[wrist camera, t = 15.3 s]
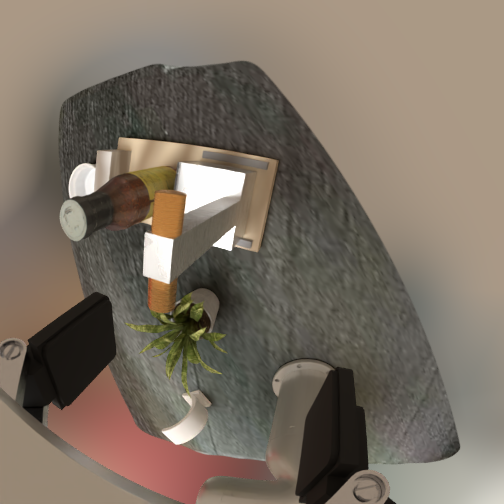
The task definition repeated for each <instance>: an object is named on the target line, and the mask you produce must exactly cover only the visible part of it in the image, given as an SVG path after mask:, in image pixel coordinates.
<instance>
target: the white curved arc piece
mask: <svg viewBox="0 0 504 504" xmlns="http://www.w3.org/2000/svg"><path fill="white" fill-rule="evenodd" d="M189 393H190V396H191V398H190V396H189V395H188V394H187V393H183V395H182V396H183V398H184V399H185V400H186V401H187V402H188V403H189V404H190V405H191V409H190V411H189V412H188V414H187V415H186V416H185V417H184V418H183V419H182V420H181V421H180V422H178V423H177V424H175V425H173V426H171V427H169V428H164V429H163V430H162V432H163V433H164V434H165V435H166V436H167V437H168V438H169V439H170V440H171V441H172V442H173V443H175V444H182V443H185V442H187V441H189V440H191V439H192V438H194V437H195V436H196V435H197V434H198V433H199V432H200V431H201V430H202V429H203V428H204V426H205V424H206V422H207V420H208V411H207V409H206V408H205V407H208V406H211V404H212V403H211V402H210V401H209V400H208V399H207V398H206V397H205V396H204V395H203V393H202V392H201V391H200V390H198V391H193V392H189Z"/></svg>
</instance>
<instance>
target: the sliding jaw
mask: <svg viewBox="0 0 504 504" xmlns="http://www.w3.org/2000/svg"><path fill="white" fill-rule="evenodd" d="M256 174H257V171H252V170H247V169H242V168H237V167H232V166H227V165H221V164H216V163H210V162H204V161H183V162H178V163H177V170H176V177H175V184H174V190H156V191H155V195H154V204H153V215H152V226H151V230H149V231H147V232H145V244H144V265H143V276H146V277H148V307H149V308H150V309H151V310H153V311H155V312H158V313H167V312H171V311H172V310H174V308H175V303H176V290H177V278H178V276H179V275H180V274H181V273H182V272H184V271H185V270H186V269H187V268H188V267H189V266H190V265H191V264H193V263H194V262H195V261H196V260H197V259H198V258H199V257H200V256H202V255H203V254H204V253H205V252H206V251H207V250H208V249H209V248H211V247H212V246H216V247H220V248H224V249H228V250H232V249H233V248H234V246H235V245H236V244H237V243H238V242H239V241H240V240H241V239H242V238H243V236H244V235H245V230H246V225H247V219H248V214H249V209H250V204H251V199H252V194H253V189H254V184H255V179H256Z"/></svg>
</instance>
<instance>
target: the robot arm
mask: <svg viewBox="0 0 504 504" xmlns="http://www.w3.org/2000/svg"><path fill="white" fill-rule="evenodd" d="M28 342H29V345H28V346H26V344H25V343H24V342H23V340H21V339H18V338H9V339H6V340H4V341H2V342H1V343H0V504H184V503H181V502H178V501H176V500H173V499H171V498H168V497H166V496H163V495H161V494H158V493H156V492H154V491H152V490H149V489H147V488H145V487H143V486H141V485H139V484H136V483H134V482H132V481H130V480H128V479H126V478H124V477H123V476H121V475H119V474H117V473H115V472H113V471H111V470H110V469H108V468H106V467H104V466H103V465H101V464H99V463H98V462H96V461H94V460H92V459H91V458H89V457H88V456H86V455H85V454H83V453H82V452H80V451H79V450H77V449H76V448H74V447H73V446H71V445H70V444H68V443H67V442H65V441H64V440H63V439H61V438H60V437H58V436H57V435H56V434H54V433H53V432H52V431H51V430H49V429H48V428H47V422H48V421H47V420H48V407H49V404H50V403H51V402H52V403H53V404H54V405H56V406H57V407H58V408H60V409H61V410H62V409H63V408H64V407H65V406H69V405H70V404H71V403H72V402H73V401H74V400H75V399H76V398H77V397H78V396H79V395H80V394H81V392H83V390H84V389H85V388H86V387H87V386H88V385H89V384H90V383H91V382H92V381H93V380H94V379H95V378H96V377H97V375H98V374H99V373H100V372H101V371H102V370H103V369H104V368H105V367H106V366H107V365H108V364H109V363H110V362H111V361H112V360H113V359H114V357H115V355H116V344H115V335H114V325H113V315H112V304H111V302H110V301H109V298H108V297H107V296H105V295H103V294H101V293H98V292H94V293H93V294H91V295H90V296H88V297H87V298H85V299H84V300H83V301H81V302H80V303H78V304H77V305H75V306H74V307H72V308H71V309H70V310H68V311H67V312H65V313H64V314H63V315H61V316H60V317H58V318H57V319H56V320H54V321H53V322H52V323H50V324H49V325H47V326H46V327H45V328H43V329H42V330H41V331H39V332H38V333H37V334H35V335H34V336H32V337H31V338H30V339H28ZM272 387H273V391H274V393H275V394H276V396H277V397H278V400H277V405H276V409H275V414H274V419H273V423H272V428H271V432H270V436H269V441H268V445H267V449H266V463H267V465H268V468H269V469H270V471H271V472H272V474H273V475H274V476H275V478H276V479H277V480H275V481H270V480H269V481H268V480H266V481H263V480H251V479H243V478H234V477H227V476H216V477H212V478H209V479H208V480H206V481H205V483H204V484H203V485H202V486H201V488H200V491H199V494H198V497H197V501H196V504H396V503H395V502H393V501H392V500H391V499H390V498H389V497H388V496H389V493H390V486H389V482H388V481H387V479H386V478H385V477H384V476H383V475H382V474H381V473H378V472H376V471H373V470H368V451H367V436H366V424H365V413H364V409H363V407H360V406H356V399H355V388H354V378H353V371H352V370H351V369H346V368H340V367H337V368H336V369H333V368H332V367H331V366H330V365H328V364H326V363H324V362H321V361H318V360H312V359H300V360H295V361H292V362H289V363H287V364H285V365H283V366H282V367H281V368H279V369H278V370H277V372H276V373H275V375H274V378H273V382H272Z"/></svg>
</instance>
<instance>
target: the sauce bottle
mask: <svg viewBox="0 0 504 504" xmlns="http://www.w3.org/2000/svg"><path fill="white" fill-rule="evenodd" d="M176 170H177V169H176V168H173V167H170V166H159V167H153V168H148V169H143V170H138V171H133V172H128V173H124V174H120V175H117V176H115V177H113V178H112V179H110V180H109V181H108V182H107V183H106V184H104V185H103V186H102V187H100V188H99V189H98V190H97V191H95V192H93V193H91V194H89V195H85V196H82V197H81V196H75V197H72V198H70V199H68V200H66V201H65V202H64V204H63V205H62V208H61V211H60V222H61V225H62V228H63V230H64V232H65V233H66V235H67V236H68V237H69V238H70V239H72V240H74V241H80V240H83V239H85V238H88V237H89V236H90V235H91V234H92V233H93V232H95V231H97V230H99V229H103V228H106V229H109V230H111V231H117V230H123V229H126V228H128V227H130V226H132V225H134V224H138V223H140V222H142V221H144V220H146V219H149V218H151V217H152V215H153V204H154V195H155V191H156V190H174V184H175V177H176Z"/></svg>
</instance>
